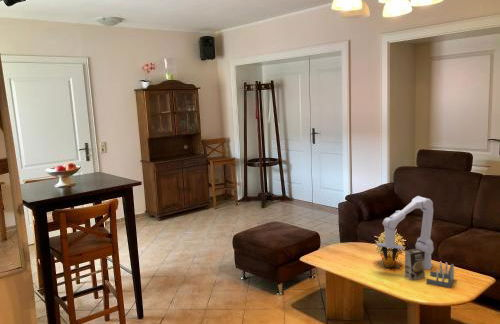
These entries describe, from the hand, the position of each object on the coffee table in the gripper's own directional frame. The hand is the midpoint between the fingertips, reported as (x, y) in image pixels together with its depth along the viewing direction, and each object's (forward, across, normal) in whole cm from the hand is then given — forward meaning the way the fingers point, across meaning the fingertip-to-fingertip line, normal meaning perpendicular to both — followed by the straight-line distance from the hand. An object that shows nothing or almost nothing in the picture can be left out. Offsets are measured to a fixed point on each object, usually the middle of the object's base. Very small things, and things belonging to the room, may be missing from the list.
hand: (390, 259), depth 243 cm
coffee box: (+9, +14, 0) cm, 16 cm away
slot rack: (+8, +27, 0) cm, 28 cm away
